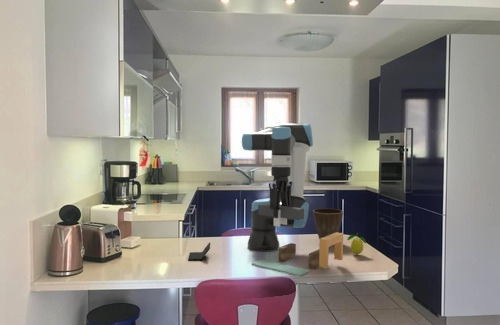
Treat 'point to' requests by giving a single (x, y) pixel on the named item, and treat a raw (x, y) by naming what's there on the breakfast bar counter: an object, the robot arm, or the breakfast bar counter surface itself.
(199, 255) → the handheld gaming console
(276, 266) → the mat
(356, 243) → the lemon
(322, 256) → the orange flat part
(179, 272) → the breakfast bar counter surface
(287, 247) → the cradle
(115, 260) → the breakfast bar counter surface
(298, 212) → the grey rectangular bar
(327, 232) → the plant pot
